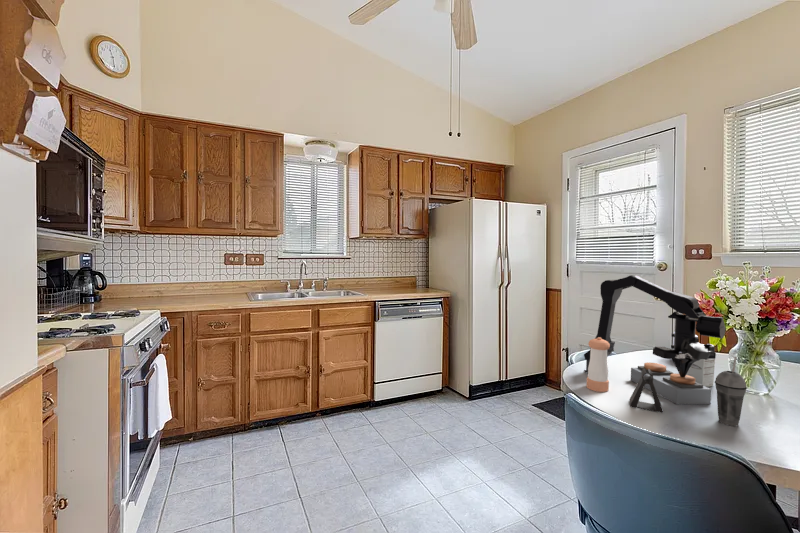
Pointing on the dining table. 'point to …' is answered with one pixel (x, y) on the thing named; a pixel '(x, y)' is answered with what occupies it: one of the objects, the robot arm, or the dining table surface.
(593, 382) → the salt shaker
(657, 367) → the pin left
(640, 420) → the dining table surface
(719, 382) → the beverage cup
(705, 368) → the supplement box
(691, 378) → the pin right
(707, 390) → the socket block
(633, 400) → the phone stand
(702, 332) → the robot arm
